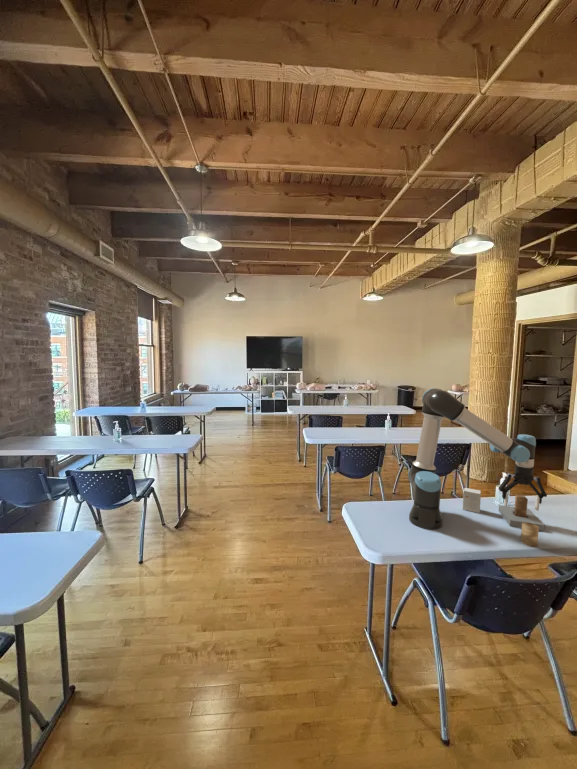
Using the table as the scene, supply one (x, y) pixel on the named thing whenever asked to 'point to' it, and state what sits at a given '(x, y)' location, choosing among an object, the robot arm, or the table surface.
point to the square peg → (520, 506)
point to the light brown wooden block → (529, 534)
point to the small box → (471, 500)
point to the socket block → (517, 520)
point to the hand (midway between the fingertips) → (520, 507)
